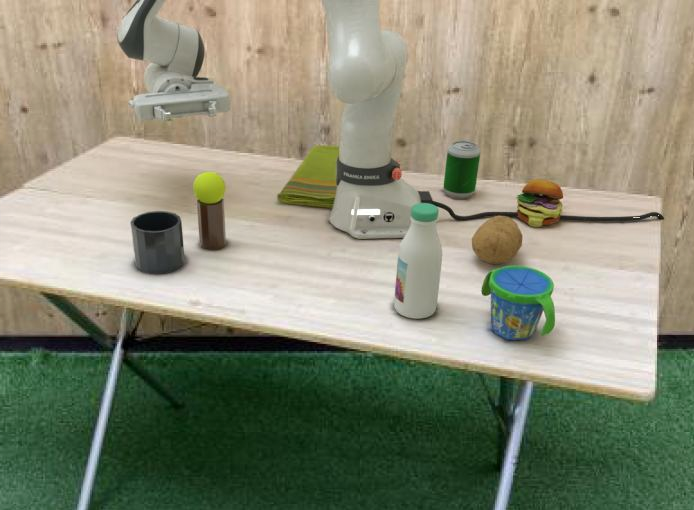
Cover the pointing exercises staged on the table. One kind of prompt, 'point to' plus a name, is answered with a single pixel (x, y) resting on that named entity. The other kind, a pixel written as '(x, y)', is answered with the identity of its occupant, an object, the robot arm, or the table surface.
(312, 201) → the dish towel
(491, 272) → the snack cup
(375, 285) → the table surface
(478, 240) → the potato
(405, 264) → the milk bottle
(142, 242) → the dark grey round container
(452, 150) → the soda can
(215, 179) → the tennis ball
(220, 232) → the ball stand
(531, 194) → the cheeseburger
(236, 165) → the table surface
